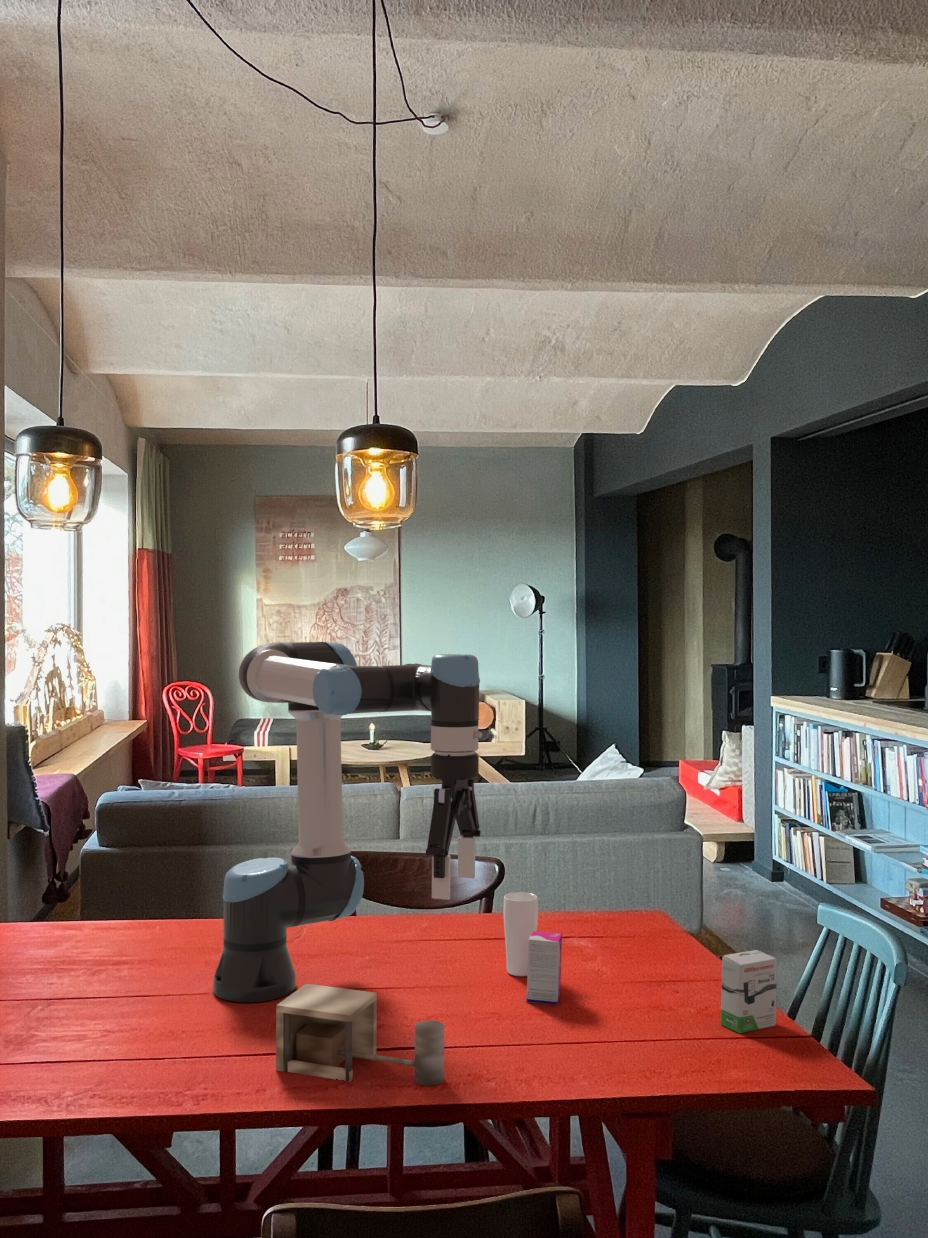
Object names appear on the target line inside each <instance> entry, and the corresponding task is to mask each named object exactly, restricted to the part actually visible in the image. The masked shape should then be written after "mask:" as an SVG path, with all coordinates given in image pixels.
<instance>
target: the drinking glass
mask: <svg viewBox="0 0 928 1238" xmlns="http://www.w3.org/2000/svg"><path fill="white" fill-rule="evenodd" d="M538 898H539V897H538V896H537V895H536V894H534V893H530V892H523V891H522V892H519V891H517V892H509V893H506V894H505V895H504V896H503V911H502V912H503V928H504V929H503V931H504V941H505V955H506V971H507V973H508V974H509V975H511V976H514V977H527V975H528V943H529V938H530V936H531V933H532V932H533V931H537V930H538V920H539V918H538V917H539V903H538V900H539V899H538Z"/></svg>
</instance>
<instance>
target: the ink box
mask: <svg viewBox="0 0 928 1238" xmlns="http://www.w3.org/2000/svg"><path fill="white" fill-rule="evenodd" d="M777 973H778V959H777V957H774V956H772V955H769V954H767V953H765V952H763V951H761V950H758V949H754V950H747V951H742V952H736V953H729V954H724V955H723V956H722V958H721V1002H720V1003H721V1004H720V1010H721V1011H720V1025H721V1026H723V1027H726V1029H727V1028H728V1029H729V1030H732V1031H733V1032H736V1033H738V1034H744V1033H749V1032H752V1031H758V1030H761V1029H765V1028H771V1027H774V1026H777V984H778V983H777V981H778V980H777V979H778V977H777V975H778V974H777Z"/></svg>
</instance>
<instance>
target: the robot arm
mask: <svg viewBox="0 0 928 1238" xmlns="http://www.w3.org/2000/svg"><path fill="white" fill-rule="evenodd" d="M356 661H357V660H356V658H355V657H354V654H353V653H352V652H351V650H350V649H349V648H348V647H347V646H346V645H344V644H343V643H339V642H332V641H331V642H329V641H308V642H307V641H305V642H303V641H301V642H300V641H297V642H270V643H265V644H262V645H259V646H257V647H254V648H253V649H252V650H250V651H249V652H248V653H247V654H246V655H245V656H244V657H243V659H242V660H241V663H240V665H239V667H238V668H239V669H238V679H239V684H240V687H241V689H242V690H243V691H244V694H246V695H248V697H250V698H252V699H253V700H256V701H258V702H264V703H271V704H272V703H273V704H279V703H282V704H284V703H285V704H286V703H287V705H288V707H287V712H288V714H290V715H291V716H292V717H293V718H294V720H295V721H296V765H297V769H296V770H297V772H296V773H297V774H296V775H297V812H298V813H297V816H298V817H297V818H298V819H297V821H298V823H297V825H298V843H297V845H296V846H295V847H294V848H293V849H292V850H291V852H290V856H291V858H290V862H291V863H289V864H288V863H287V861H286V859H283V858H280V857H277V856H276V857H274V856H273V857H271V856H269V857H266V858H264V857H259V858H253V859H250V860H246V861H242V862H239V863H238V864H235V865H234V866H232V867H231V868H230V869H228V871H227V872H226V873H225V876H224V881H223V891H222V900H223V902H222V903H223V926H222V927H223V932H222V933H223V934H222V936H223V942H222V943H223V944H222V945H223V946H222V952H221V954H220V958H219V961H218V965H217V966H216V970H215V973H214V977H213V982H212V983H213V989H212V990H213V994H214V995H215V996H216V997H218V998H220V999H222V1000H224V1001H230V1002H234V1003H261V1002H268V1001H272V1000H276V999H280V998H283V997H285V996H286V997H287V995H289V994H292V993H293V991H294V990H295V989H296V987H297V985H296V984H297V981H296V980H297V979H296V978H297V976H296V970H295V968H294V965H293V961H292V959H291V955H290V951H289V948H288V944H287V943H288V941H287V937H288V936H287V935H288V933H287V930H288V929H289V928H294V927H299V926H306V925H311V924H316V923H322V922H334V921H336V920H339V919H342V918H346V917H350V916H351V915H352V914H354V913H355V911H356V910H357V908H358V907H360V906H359V905H360V904H361V901H362V899H363V895H364V887H365V878H364V877H365V876H364V872H363V870H362V864H361V863H360V861H359V859H357V857H355V856H353V855H352V849H351V847H350V846H348V845H347V844H346V843H345V841H344V829H343V827H344V825H343V824H344V822H343V821H344V820H343V779H342V778H343V777H342V775H343V774H342V742H341V741H342V735H341V730H342V727H341V720H342V717H343V716H347V715H354V714H367V713H370V714H371V713H390V712H391V713H392V712H393V713H394V712H395V713H396V712H412V711H413V712H414V711H415V712H416V711H421V712H430V713H431V715H430V716H431V717H430V720H431V721H430V722H431V723H430V749H431V750H432V751H433V752H434V753H432V754H431V755H430V775H431V777H432V778H434V779H436V780H441V788H434V791H433V805H432V813H431V821H430V825H429V826H430V827H429V832H428V839H427V846H426V847H427V848H426V849H425V854H426V856H431V899H434V900H436V899H437V900H450V899H451V861H452V860H451V858H452V857H451V855H450V854H449V851H450V848H451V847H450V846H451V842H452V838H453V833H454V828H455V826H456V825H457V829H458V831H459V834H460V836H458V837H457V878H461V879H476V838H477V837H480V836H481V834H482V833H481V832H482V831H481V830H480V822H479V816H478V809H477V800H476V793H475V779H476V778H477V777H478V776H479V773H480V771H479V769H480V767H479V766H480V765H479V763H480V762H479V761H480V759H479V757H480V756H479V755H478V753H475V752H476V751H478V750H479V739H481V738H482V736H483V734H482V732H481V731H479V720H480V719H479V717H480V713H479V712H480V683H481V679H480V678H481V677H480V672H479V660H478V658H477V657H476V656H475V655H473V654H467V653H466V654H459V653H458V654H456V653H453V654H452V653H451V654H450V653H448V654H447V653H444V654H443V653H442V654H435V655H434V656H433V657H432V658H431V665H427V664H421V663H416V662H415V663H405V664H400V665H399V664H398V665H397V664H395V665H394V664H393V665H358V664H357V662H356ZM455 824H456V825H455Z"/></svg>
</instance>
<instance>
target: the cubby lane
mask: <svg viewBox="0 0 928 1238" xmlns="http://www.w3.org/2000/svg"><path fill="white" fill-rule="evenodd" d="M377 995H378V993H377V992H374V991H366V990H365V991H364V990H358V989H350V988H344V987H336V986H326V985H319V984H311V983H305V984H304V985H302V986H301V987H300V988H299V989H297V990H295V991H294V992H292V993H290V995H289V996H286V998H284V999H283V1000H282V1001H280V1002H279V1003H277V1004H276V1005H275V1006H276V1007H275V1008H276V1010H275V1013H276V1014H275V1017H276V1019H275V1023H276V1024H275V1025H276V1026H275V1027H276V1028H275V1071H277V1072H285V1073H291V1074H292V1073H293V1074H300V1075H305V1076H313V1077H316V1078H317V1077H318V1078H324V1079H331V1080H336V1079H338V1080H337V1081H342V1080H344V1082H347V1083H348V1082H350V1083H351V1082H352V1081H353V1078H354V1074H353V1073H354V1072H353V1071H354V1070H353V1057H352V1051H353V1052H360V1053H367V1054H373V1055H377V1028H378V1027H377V1022H378V1021H377V1019H378V1018H377V1011H378V1010H377V1009H378V1008H377V1005H378V1004H377V1003H378V1001H377V999H378V998H377V997H378V996H377ZM311 1022H315V1023H322V1024H329V1025H336V1026H343V1027H346V1034H345V1059H344V1065H345V1066H344V1067H340V1066H339V1067H338V1066H337V1067H333V1066H326V1065H320V1064H314V1063H307V1062H301V1061H296V1055H297V1033H298V1032H299V1031H301V1030H302V1029H303V1028H304V1027H306V1026H307V1025H308V1024H309V1023H311Z"/></svg>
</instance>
